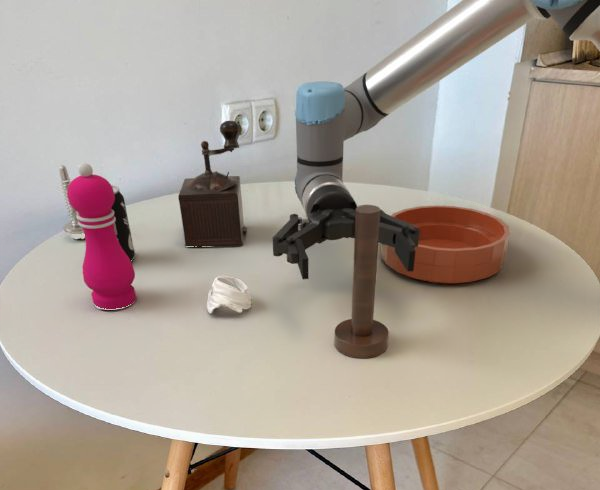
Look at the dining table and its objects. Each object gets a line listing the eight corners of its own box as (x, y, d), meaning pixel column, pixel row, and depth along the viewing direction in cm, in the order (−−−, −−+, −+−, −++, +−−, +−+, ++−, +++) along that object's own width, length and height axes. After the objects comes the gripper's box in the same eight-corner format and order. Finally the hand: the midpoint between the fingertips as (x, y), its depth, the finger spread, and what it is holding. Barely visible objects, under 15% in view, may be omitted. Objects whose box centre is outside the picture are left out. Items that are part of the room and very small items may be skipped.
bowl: (528, 272, 95) (536, 236, 91) (425, 297, 88) (430, 259, 85) (453, 231, 109) (458, 199, 105) (360, 251, 102) (362, 216, 99)
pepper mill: (80, 308, 87) (42, 168, 75) (109, 287, 93) (79, 154, 81) (121, 316, 85) (89, 173, 73) (149, 295, 90) (123, 158, 78)
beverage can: (123, 250, 104) (109, 181, 97) (143, 261, 101) (129, 189, 93) (89, 261, 101) (71, 190, 94) (107, 272, 97) (91, 199, 90)
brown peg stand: (397, 350, 77) (411, 213, 66) (350, 363, 74) (356, 223, 63) (370, 326, 82) (378, 195, 71) (325, 338, 79) (326, 204, 69)
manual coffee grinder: (246, 246, 105) (238, 138, 94) (184, 248, 105) (169, 140, 94) (248, 216, 117) (242, 117, 106) (192, 217, 117) (180, 119, 106)
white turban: (206, 301, 90) (200, 271, 88) (250, 293, 91) (244, 263, 88) (209, 323, 84) (202, 291, 81) (256, 314, 84) (250, 282, 82)
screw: (73, 244, 107) (61, 237, 110) (97, 237, 110) (85, 230, 112) (54, 170, 99) (42, 164, 102) (81, 164, 102) (68, 159, 105)
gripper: (406, 227, 95) (450, 285, 78) (250, 237, 92) (261, 299, 75) (410, 178, 90) (459, 229, 73) (247, 188, 88) (258, 243, 71)
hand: (359, 265), depth 74 cm, fingers open, 13 cm apart
